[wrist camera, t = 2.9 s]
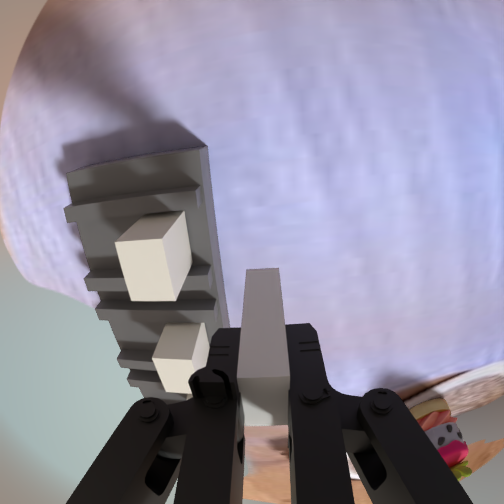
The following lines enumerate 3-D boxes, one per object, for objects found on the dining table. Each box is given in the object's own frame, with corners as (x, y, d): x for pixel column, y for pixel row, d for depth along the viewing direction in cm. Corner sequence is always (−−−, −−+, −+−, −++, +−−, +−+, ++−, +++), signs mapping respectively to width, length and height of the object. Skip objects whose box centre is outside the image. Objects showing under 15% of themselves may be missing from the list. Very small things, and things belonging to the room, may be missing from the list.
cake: (435, 424, 38) (458, 489, 25) (384, 438, 39) (401, 510, 25) (457, 390, 34) (490, 463, 20) (401, 405, 34) (428, 490, 21)
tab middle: (168, 316, 24) (151, 357, 19) (203, 316, 24) (191, 359, 19) (178, 350, 26) (166, 391, 21) (210, 351, 25) (201, 394, 21)
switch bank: (83, 166, 22) (53, 178, 18) (207, 146, 21) (194, 152, 17) (159, 400, 34) (151, 426, 30) (242, 404, 34) (240, 433, 30)
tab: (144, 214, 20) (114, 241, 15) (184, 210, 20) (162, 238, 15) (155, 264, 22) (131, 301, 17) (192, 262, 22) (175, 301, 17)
